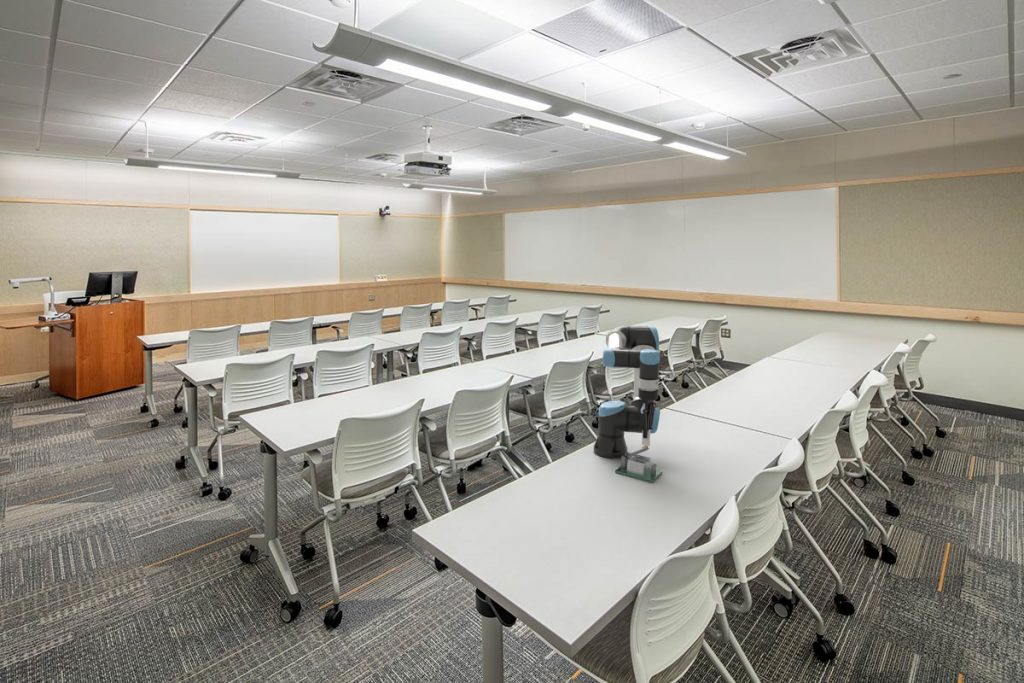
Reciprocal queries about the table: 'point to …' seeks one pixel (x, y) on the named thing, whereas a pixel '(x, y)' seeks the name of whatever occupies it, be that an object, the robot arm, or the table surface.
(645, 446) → the grey rod
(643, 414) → the robot arm
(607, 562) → the table surface
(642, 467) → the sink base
